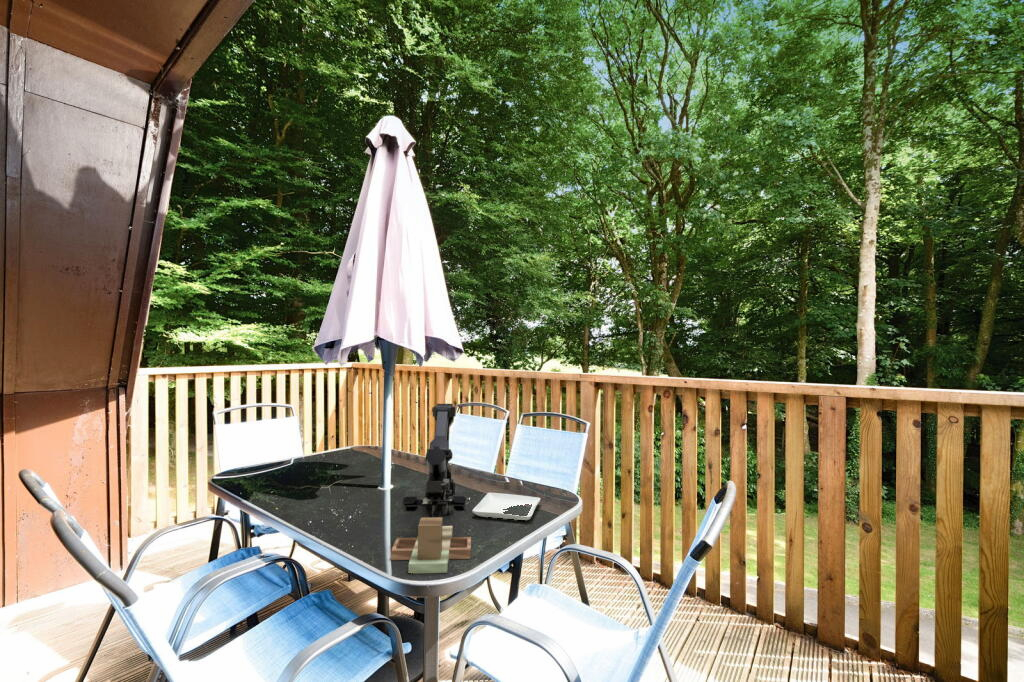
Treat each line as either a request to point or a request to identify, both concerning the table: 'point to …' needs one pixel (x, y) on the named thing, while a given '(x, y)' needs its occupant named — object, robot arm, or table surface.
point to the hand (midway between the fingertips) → (432, 531)
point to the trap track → (450, 550)
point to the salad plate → (504, 505)
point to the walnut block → (430, 538)
